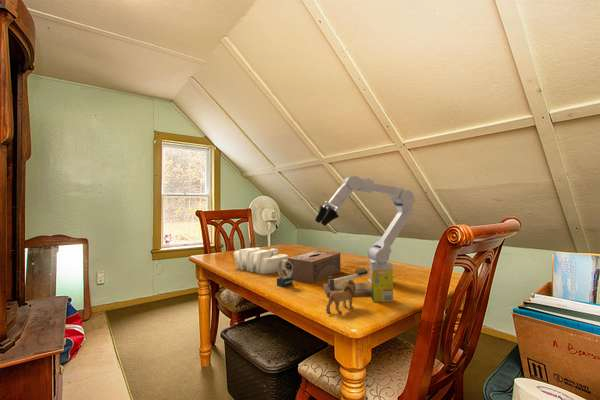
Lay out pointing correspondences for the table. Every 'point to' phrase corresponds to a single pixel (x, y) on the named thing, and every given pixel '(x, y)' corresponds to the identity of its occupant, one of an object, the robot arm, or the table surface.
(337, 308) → the lion figurine
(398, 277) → the table surface
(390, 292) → the crayon box
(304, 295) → the table surface
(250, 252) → the wavy white extrusion
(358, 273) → the lever
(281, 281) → the watch
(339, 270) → the tissue box cover
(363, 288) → the base
